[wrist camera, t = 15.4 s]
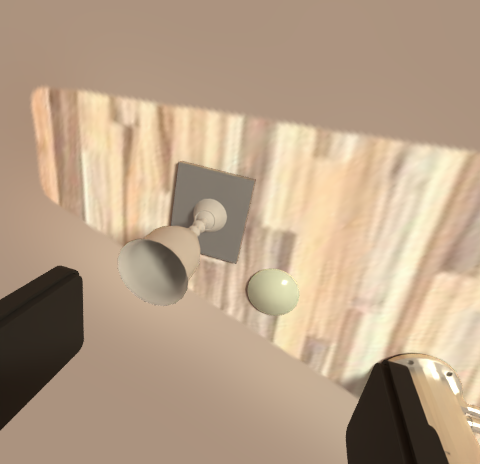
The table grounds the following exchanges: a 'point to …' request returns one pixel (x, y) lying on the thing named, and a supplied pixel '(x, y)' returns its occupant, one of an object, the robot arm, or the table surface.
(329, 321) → the table surface
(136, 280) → the chalice
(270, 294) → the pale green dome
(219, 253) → the slate board
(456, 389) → the robot arm
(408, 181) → the table surface
